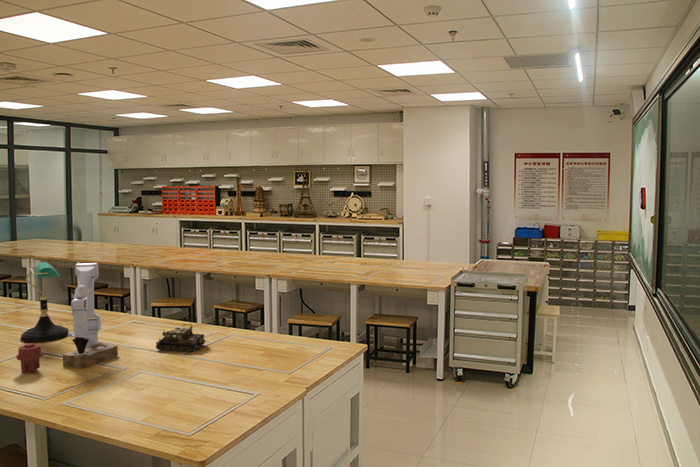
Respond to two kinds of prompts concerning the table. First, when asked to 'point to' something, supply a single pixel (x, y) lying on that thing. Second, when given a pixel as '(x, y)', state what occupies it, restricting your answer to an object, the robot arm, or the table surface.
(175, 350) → the model tank
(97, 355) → the walnut block
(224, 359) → the table surface
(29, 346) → the mechanical component
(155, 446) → the table surface
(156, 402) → the table surface
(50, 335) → the banker's lamp
